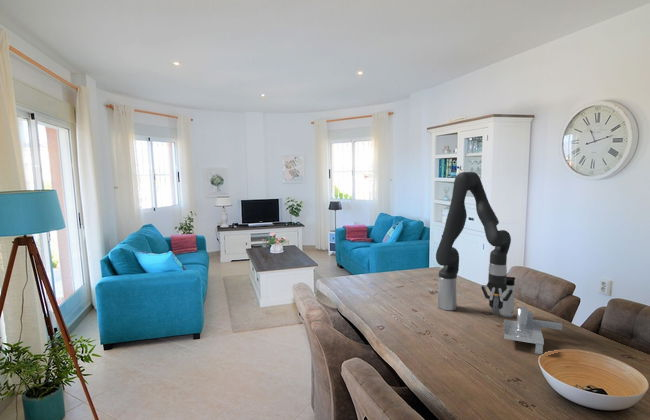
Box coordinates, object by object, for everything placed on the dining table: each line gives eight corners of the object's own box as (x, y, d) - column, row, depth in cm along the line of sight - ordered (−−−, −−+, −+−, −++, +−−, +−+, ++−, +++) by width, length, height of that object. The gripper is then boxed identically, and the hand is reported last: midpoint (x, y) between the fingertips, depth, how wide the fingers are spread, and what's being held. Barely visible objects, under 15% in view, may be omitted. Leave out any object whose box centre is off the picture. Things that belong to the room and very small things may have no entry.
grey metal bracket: (504, 348, 146) (504, 316, 145) (503, 331, 161) (504, 302, 160) (567, 359, 137) (569, 324, 135) (560, 340, 151) (561, 309, 150)
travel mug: (516, 318, 175) (517, 279, 173) (501, 317, 177) (502, 279, 174) (512, 313, 181) (513, 275, 179) (498, 312, 183) (499, 275, 181)
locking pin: (491, 313, 166) (492, 293, 165) (491, 311, 169) (492, 291, 168) (499, 315, 164) (500, 294, 163) (499, 312, 167) (500, 292, 166)
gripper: (480, 273, 164) (479, 308, 166) (514, 276, 158) (512, 313, 160) (481, 268, 170) (479, 302, 173) (514, 272, 164) (512, 307, 167)
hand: (495, 307), depth 166 cm, fingers closed on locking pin, 3 cm apart
